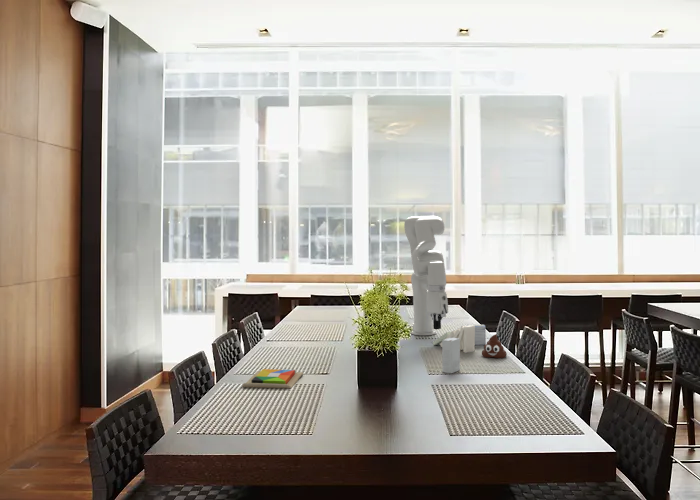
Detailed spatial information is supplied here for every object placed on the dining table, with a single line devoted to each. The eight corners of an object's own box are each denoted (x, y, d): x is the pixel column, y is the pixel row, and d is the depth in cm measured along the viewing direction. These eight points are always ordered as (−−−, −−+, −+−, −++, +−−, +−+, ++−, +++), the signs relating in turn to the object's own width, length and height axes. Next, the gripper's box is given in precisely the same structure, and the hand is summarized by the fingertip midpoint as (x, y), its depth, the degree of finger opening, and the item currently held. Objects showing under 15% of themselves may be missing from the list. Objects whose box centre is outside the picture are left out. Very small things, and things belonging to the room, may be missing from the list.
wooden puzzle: (241, 389, 202) (240, 379, 202) (259, 375, 221) (258, 366, 221) (290, 390, 199) (289, 380, 199) (304, 376, 218) (304, 367, 218)
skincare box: (450, 368, 222) (449, 337, 221) (460, 370, 219) (460, 338, 219) (441, 372, 217) (441, 339, 217) (452, 374, 214) (451, 340, 214)
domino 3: (447, 346, 259) (457, 328, 253) (455, 344, 262) (466, 327, 256) (449, 348, 258) (459, 331, 252) (457, 347, 261) (468, 329, 255)
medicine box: (484, 343, 269) (484, 324, 268) (486, 345, 264) (485, 326, 264) (467, 343, 269) (466, 324, 269) (468, 345, 265) (467, 326, 265)
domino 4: (454, 348, 255) (461, 326, 251) (463, 347, 258) (469, 325, 254) (457, 350, 254) (463, 328, 250) (465, 349, 257) (472, 327, 253)
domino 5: (463, 351, 251) (464, 326, 250) (471, 350, 254) (472, 325, 253) (466, 352, 250) (466, 327, 249) (474, 351, 252) (475, 325, 251)
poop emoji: (508, 355, 243) (508, 333, 242) (504, 359, 235) (504, 336, 235) (484, 353, 247) (483, 331, 247) (479, 358, 239) (479, 335, 239)
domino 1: (432, 342, 267) (446, 332, 259) (440, 340, 270) (454, 331, 262) (433, 345, 266) (448, 335, 258) (441, 344, 269) (456, 334, 261)
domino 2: (439, 344, 263) (452, 330, 256) (447, 342, 266) (460, 329, 258) (441, 347, 262) (454, 334, 255) (449, 345, 265) (462, 332, 258)
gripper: (454, 289, 263) (454, 330, 263) (431, 287, 275) (432, 326, 276) (441, 290, 258) (442, 332, 259) (419, 288, 271) (420, 327, 271)
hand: (437, 328), depth 267 cm, fingers closed
